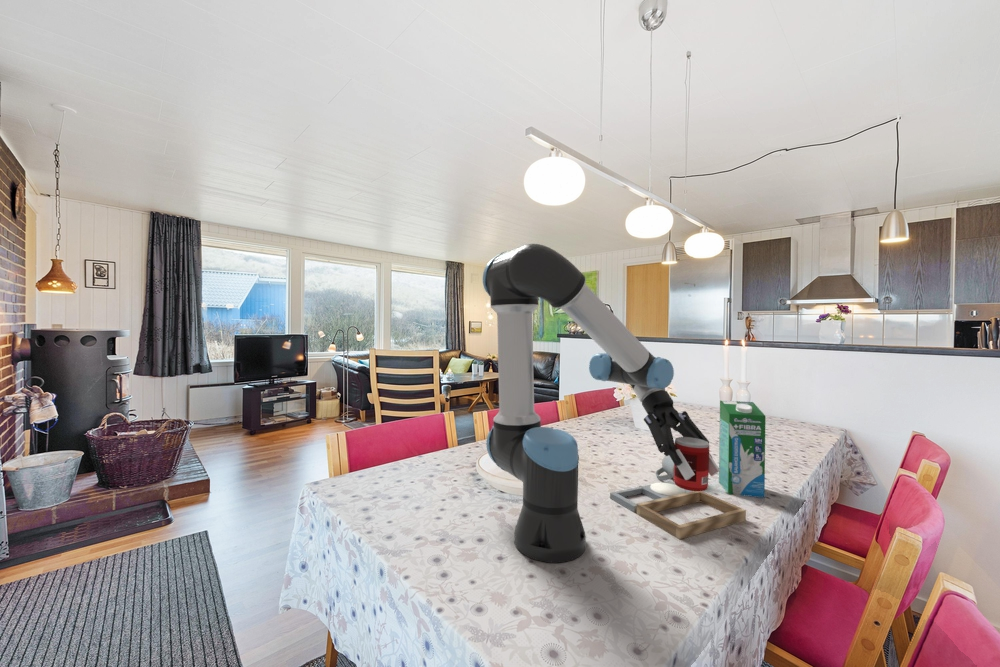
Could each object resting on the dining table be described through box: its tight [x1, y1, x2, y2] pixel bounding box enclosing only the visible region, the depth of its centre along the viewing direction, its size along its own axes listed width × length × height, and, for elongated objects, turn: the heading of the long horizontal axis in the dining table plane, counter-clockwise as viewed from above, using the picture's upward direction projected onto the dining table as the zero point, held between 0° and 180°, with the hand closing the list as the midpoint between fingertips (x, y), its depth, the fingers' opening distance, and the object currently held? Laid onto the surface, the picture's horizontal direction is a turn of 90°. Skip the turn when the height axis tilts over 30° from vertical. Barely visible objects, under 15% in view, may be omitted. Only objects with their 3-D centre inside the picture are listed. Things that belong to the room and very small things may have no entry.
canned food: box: [673, 436, 710, 492], centre depth 97 cm, size 8×8×11 cm
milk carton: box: [718, 400, 767, 498], centre depth 114 cm, size 9×9×25 cm
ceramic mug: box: [655, 455, 674, 482], centre depth 122 cm, size 11×8×8 cm
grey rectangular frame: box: [609, 480, 693, 513], centre depth 108 cm, size 22×9×2 cm, turn 114°
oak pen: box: [636, 491, 747, 540], centre depth 97 cm, size 22×13×2 cm, turn 114°
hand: (703, 475), depth 94 cm, fingers closed on canned food, 8 cm apart
